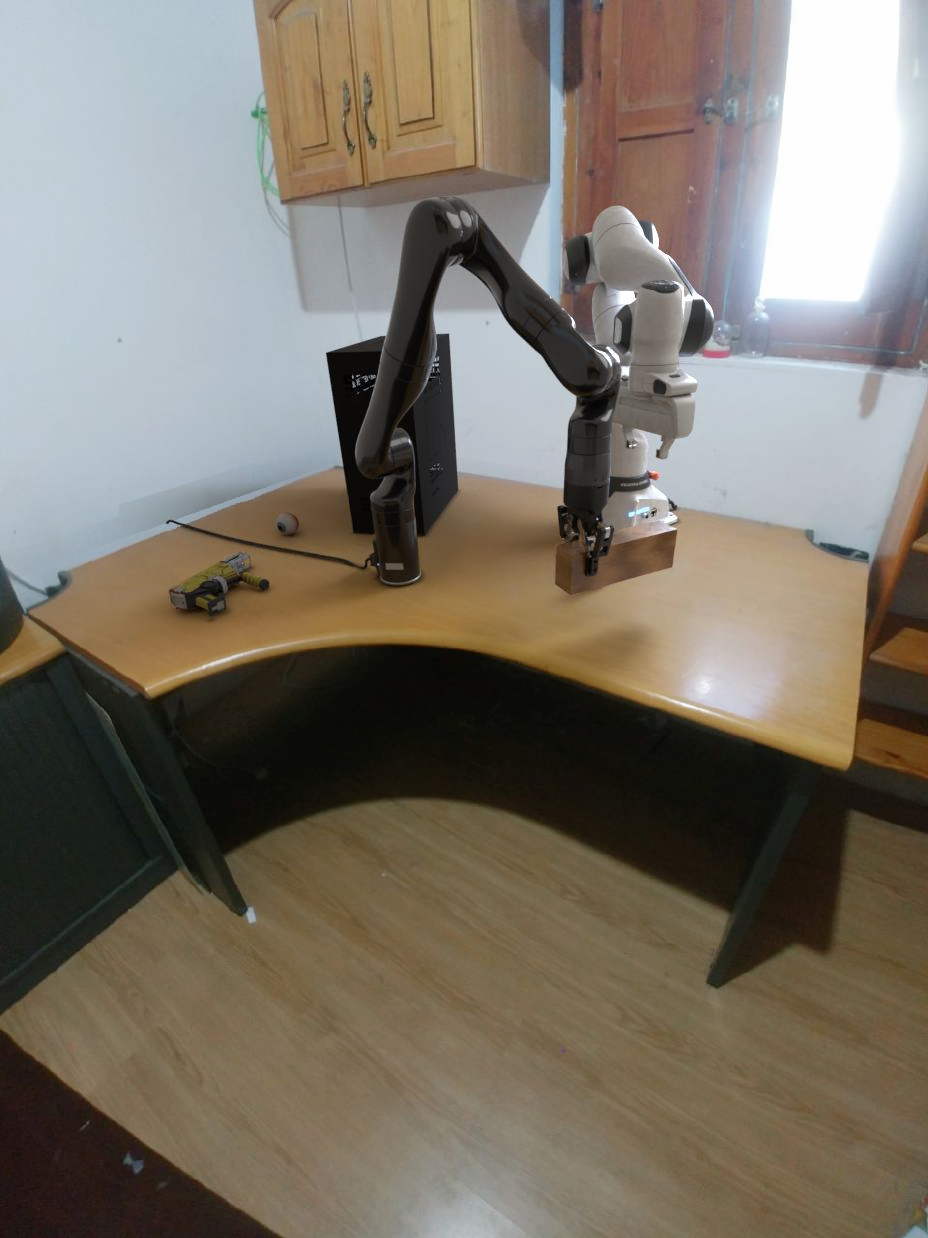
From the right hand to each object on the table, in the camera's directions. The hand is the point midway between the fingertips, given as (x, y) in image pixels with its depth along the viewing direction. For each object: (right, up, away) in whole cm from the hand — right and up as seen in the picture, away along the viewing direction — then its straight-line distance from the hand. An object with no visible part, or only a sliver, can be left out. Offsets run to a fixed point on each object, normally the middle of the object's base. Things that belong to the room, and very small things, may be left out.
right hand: (645, 453), depth 120 cm
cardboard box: (-52, -1, +57) cm, 77 cm away
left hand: (-15, -24, -11) cm, 30 cm away
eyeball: (-84, -10, +45) cm, 96 cm away
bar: (-8, -25, -7) cm, 27 cm away
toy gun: (-88, -27, +16) cm, 94 cm away
